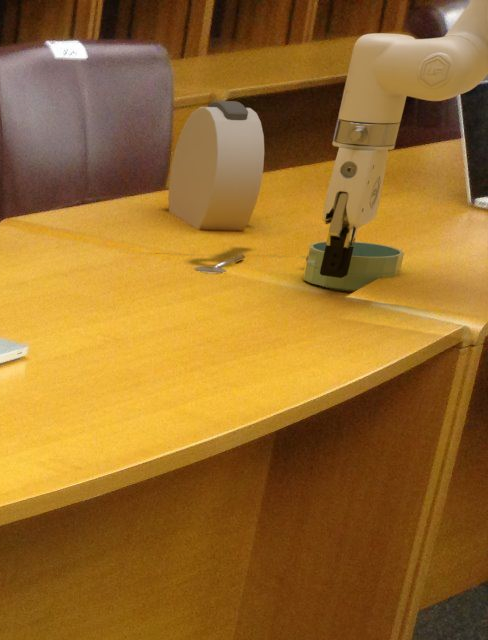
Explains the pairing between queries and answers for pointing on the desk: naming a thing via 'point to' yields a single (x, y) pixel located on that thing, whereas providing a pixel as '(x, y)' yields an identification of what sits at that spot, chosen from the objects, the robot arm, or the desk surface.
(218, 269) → the spoon
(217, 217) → the alarm clock
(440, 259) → the desk surface
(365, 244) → the bowl
